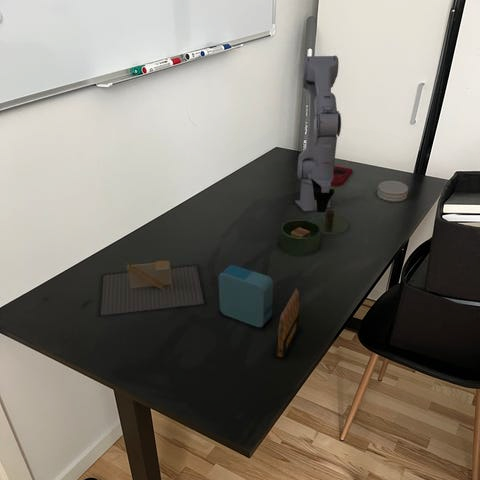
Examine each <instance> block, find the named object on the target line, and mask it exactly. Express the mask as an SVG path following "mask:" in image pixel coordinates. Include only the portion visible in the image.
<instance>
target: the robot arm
mask: <svg viewBox="0 0 480 480" xmlns="http://www.w3.org/2000/svg"><path fill="white" fill-rule="evenodd" d="M339 63H340V61H339V57H338V56H337V55H335V54H334V55H309V56H308V55H304V57H303V58H302V65H301V85H302V88H303V89H305V90H307V93H308V98H309V99H308V121H307V122H308V125H307V128H308V129H307V147H306V148H305V149H304V150H303V151H301V152H300V153H299V154H298V158H297V159H298V161H297V169H296V170H297V172H296V173H297V179H298V180H300V193H299V194H300V195H299V199H296V200H295V201H294V202H295V203H296V204H297V205H298V206H299V207H300V208H301V209H302V210H303V211H304V212H309V211H314V210H315V211H316V210H317V213H326V211H327V208H330V207H332V206H331V198H333V196H334V194H335V189H334V188H332V185H331V182H332V180H333V177H334V175H333V170H334V166H335V160H336V153H337V143H338V137H340V136H341V135H340V134H341V131H342V115H341V113H340V111H339V110H338V107H337V106H338V105H337V98H336V96H335V94H334V93H333V92H332V88H334V85H335V84H336V79H337V78H338V73H339Z"/></svg>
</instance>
